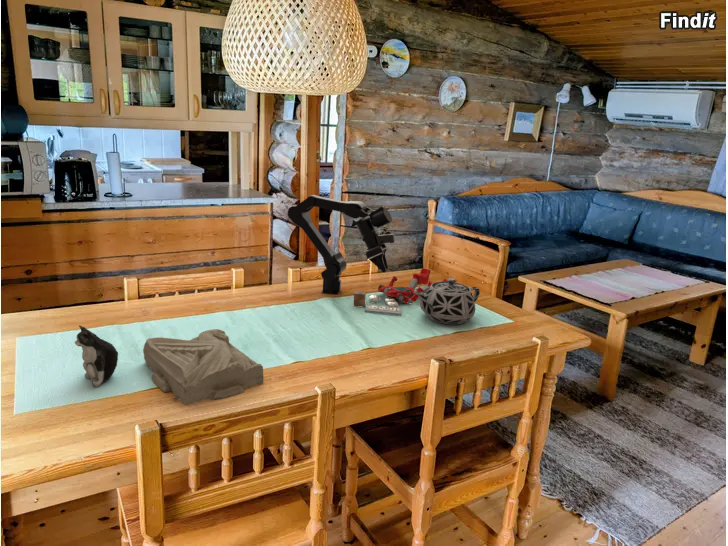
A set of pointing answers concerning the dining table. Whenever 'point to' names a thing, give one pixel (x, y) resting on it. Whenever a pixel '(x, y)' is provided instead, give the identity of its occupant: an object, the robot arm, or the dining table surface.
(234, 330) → the dining table surface
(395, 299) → the tealight
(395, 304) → the tealight
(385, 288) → the toy robot
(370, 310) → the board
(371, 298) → the tealight
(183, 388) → the sculpture
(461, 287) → the teapot
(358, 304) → the block
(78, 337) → the figurine
